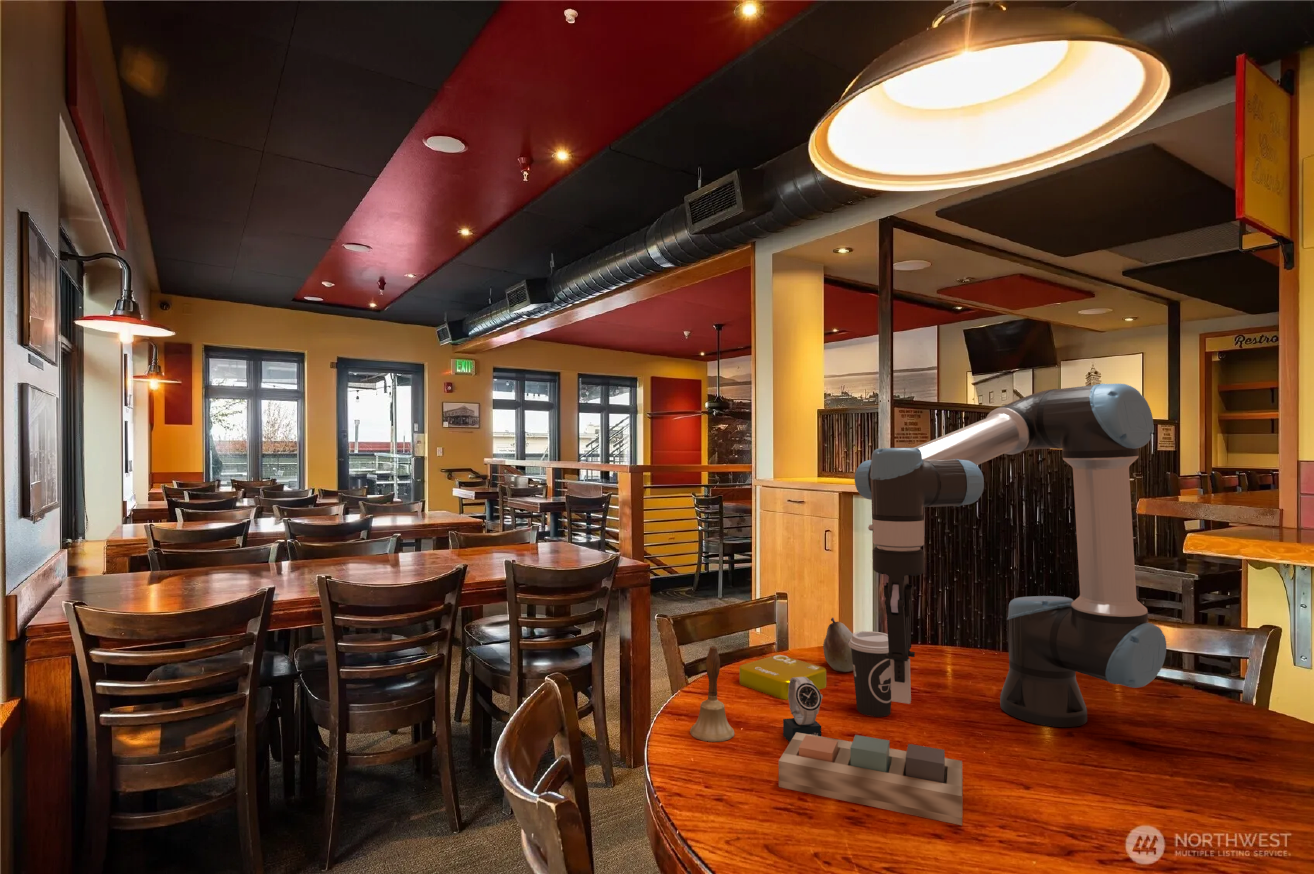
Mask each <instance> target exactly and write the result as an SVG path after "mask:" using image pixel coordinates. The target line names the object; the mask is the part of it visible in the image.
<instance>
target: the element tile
mask: <svg viewBox="0 0 1314 874" xmlns="http://www.w3.org/2000/svg"><path fill="white" fill-rule="evenodd" d="M738 667H739V669H738V671H739V684H740V686H742V687H746V688H748V689H751V688H752V690H754V691H757V692H760V693H762V692H763V694H766V695H768V696H771V695H772V697H774V698H778V699H779V700H780V699H781V700H785V701H789V699H788V693H789V682H790V679H791V678H794V677H806V678H808V679H809V681H812V683H813V684H814V685H815V686H816V687H817V688H818V689H819V691H820V690H823V689H825V688H826V687H827V669H826V668H825V667H823V666H822V665H818V664H817V665H816V664H813V663H810V662H806V661H803V660H800V659H796V658H792V657H789V656H787V655H781V654H775V655H771V656H768V657H767V656H766V657H764V658H761V659H758V660H754V661H750V662H747V663H744V664H741V665H740V666H738Z"/></svg>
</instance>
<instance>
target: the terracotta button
mask: <svg viewBox="0 0 1314 874" xmlns="http://www.w3.org/2000/svg"><path fill="white" fill-rule="evenodd" d="M837 755H838V741H837V740H831V739H826V738H820V737H814V736H808V735H806V736H805V737H804V739H803V741H802V743H801V744H800V746H799V756H801V757H807V758H812V759H817V760H823V761H828V762H833V763H834V762H835V760H836V758H837Z"/></svg>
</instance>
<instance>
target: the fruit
mask: <svg viewBox="0 0 1314 874" xmlns="http://www.w3.org/2000/svg"><path fill="white" fill-rule="evenodd" d="M830 620H831V622H832V623H830V624H829V625H828V626H827V630H826V635H825V637H824V640H823V644H822V645H823V646H822V647H823V648H822V649H823V656H824V660H825V661H826V662H827V664H828V665H829V667H831V669H833V670H834V671H836V672H843V673H849V672H853V662H852V652H851V647H849V641H850V639H851V638H852V635H853V634H854V632H852V631H851V630H850V629H849V628H848V626H846V625H845V624H844V623H843V622H841V621H836V620H835V618H834V617H831V619H830Z"/></svg>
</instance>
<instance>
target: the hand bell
mask: <svg viewBox="0 0 1314 874" xmlns="http://www.w3.org/2000/svg"><path fill="white" fill-rule="evenodd" d="M705 667H706V668H705V669H706V675H707V679H708V691H707V692H708V693H707V699H706V700H702V702H701V703H700V707H699V713H698V718H697V720H696V721H695V723H694V724H693V725H692V726H691V728H690V730H689V733H690V735H691V736H692V737H693V738H695V739H696V740H699V741H702V742H703V741H704V742H707V741H708V743H711V742H712V743H720V742H726V741H729V740H730V739H732V738H734V737H735V730H734V728H733V727H732V726H731V725H730V724H729V722H728V719H727V716H726V708H725V704H724V703H723V701H720V700H719V699H718V678H719V674H720V670H721V669H720V668H721V660H720V655H719V652H718V648H717V646H716V645H715V646H714V645H711V646H710V647H709V650H708V653H707V657H706V662H705Z"/></svg>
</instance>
